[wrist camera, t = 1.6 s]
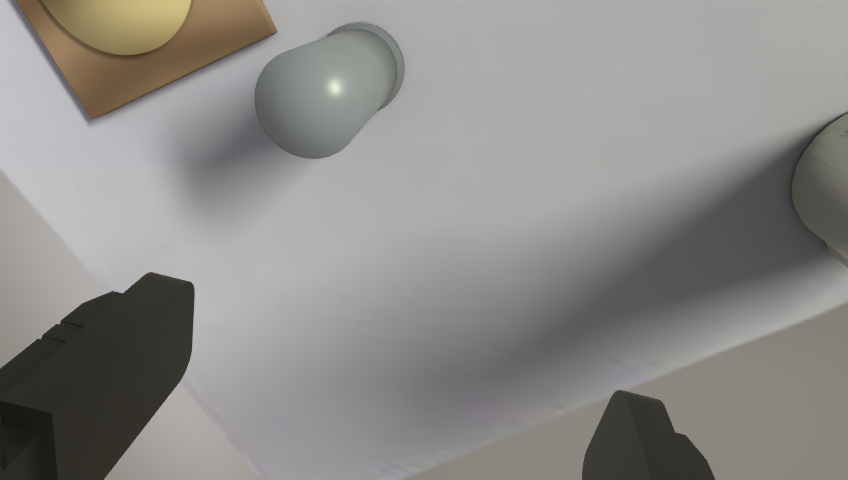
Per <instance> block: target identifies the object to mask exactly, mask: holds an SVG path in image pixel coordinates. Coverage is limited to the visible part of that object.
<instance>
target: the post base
mask: <svg viewBox="0 0 848 480" xmlns="http://www.w3.org/2000/svg"><path fill="white" fill-rule="evenodd" d="M16 1H17V2H18V4H19V6H20V7H21V9H22V10H23V12H24V13H25V15H26V17H27V18H28V20H29V21H30V23H31V24H32V26H33V27H34V29H35V31H36V32H37V34H38V35H39V37H40V38H41V40H42V42H43V43H44V45H45V46H46V48H47V49H48V51H49V53H50V54H51V56H52V57H53V59H54V60H55V62H56V64H57V65H58V67H59V68H60V70H61V71H62V73H63V75H64V76H65V78H66V79H67V81H68V82H69V84H70V85H71V87H72V89H73V90H74V92H75V93H76V95H77V96H78V98H79V100H80V101H81V103H82V104H83V106H84V107H85V109H86V111H87V112H88V114H89V115H90V117H91V118H92V119H93V118H96V117H99V116H102V115H104V114H106V113H108V112H111V111H113V110H115V109H117V108H119V107H121V106H123V105H125V104H127V103H129V102H131V101H134V100H136V99H138V98H140V97H142V96H144V95H146V94H148V93H150V92H152V91H154V90H157V89H159V88H161V87H163V86H165V85H167V84H169V83H171V82H173V81H175V80H178V79H180V78H182V77H184V76H186V75H188V74H190V73H192V72H194V71H196V70H198V69H201V68H203V67H205V66H207V65H209V64H211V63H213V62H215V61H217V60H219V59H221V58H224V57H226V56H228V55H230V54H232V53H234V52H236V51H238V50H240V49H242V48H244V47H247V46H249V45H251V44H253V43H255V42H257V41H259V40H261V39H263V38H265V37H267V36H270V35H272V34H274V33H276V32H277V30H276V28H275V26H274V24H273V22H272V20H271V18H270V15H269V13H268V11H267V9H266V7H265V5H264V3H263V1H262V0H16Z"/></svg>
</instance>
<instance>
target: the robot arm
mask: <svg viewBox="0 0 848 480" xmlns="http://www.w3.org/2000/svg"><path fill="white" fill-rule="evenodd" d="M792 199H793V204H794V208H795V210H796V212H797V214H798V216H799V218H800V220H801V221H802V222H803V223H804V224H805V225H806V226H807V227H808V229H809V230H811V231H812V232H813V233H815V234H816V235H817V236H818V237H820V238H821V239H822V240H824V241H825V242H826V244H827V250H828V252H829V253H830V254H832V255H833V256H834V257H835V258H837V259H838V260H839V261H840V262H842V263H843V264H844V265H845V266H847V267H848V113H847V114H845V115H844V116H842V117H840V118H839V119H837V120H836V121H834V122H833V123H831V124H830V125H828V126H827V127H826V128H825V129H824V130H823V131H822V132H821V133H819V134H818V135H817V136H816V137H815V138H814V140H813V141H812V142H811V143H810V145H809V146H808V147H807V148H806V150H805V151H804V153H803V155H802V157H801V158H800V160H799V162H798V164H797V166H796V170H795V173H794V177H793V180H792ZM193 315H194V286H193V284H192V283H191V282H189V281H185V280H181V279H177V278H173V277H169V276H165V275H161V274H157V273H153V272H150V273H147V274H145V275H144V276H143V277H142V278H140V279H139V280H138V281H137V282H136V283H135V284H133V285H132V286H131V287H130V288H129V289H128V290H126V291H125V292H124V293H123V294H122V293H118V292H114V291H112V292H109V293H107V294H104V295H102V296H99V297H97V298H94V299H92V300H89V301H87V302H85V303H82V304H81V305H80V306H79V307H77V308H76V309H75V310H74V311H73V312H71V313H70V314H69V315H67V316H66V317H65V318H64V319H62V320H61V323H60V324H59V325H58V324H56V325H55V326H53V327H52V328H51V329H50V330H48V331H47V332H46V333H45V334H43V336H42V338H41V340H40V339H37V340H36V341H35V342H33V343H32V344H31V345H30V346H28V347H27V348H26V349H25V350H23V351H22V352H21V353H19V354H18V355H17V356H16V357H15V358H13V359H12V360H11V361H9V362H8V363H7V364H6V365H4V366H3V367H2V368H1V369H0V480H104V479H105V477H106V476H107V475H108V473H109V472H110V471H111V469H112V468H113V467H114V466H115V464H116V463H117V462H118V460H119V459H120V458H121V457H122V455H123V454H124V453H125V451H126V450H127V449H128V448H129V446H130V445H131V444H132V442H133V441H134V440H135V439H136V437H137V436H138V435H139V433H140V432H141V431H142V429H143V428H144V427H145V426H146V424H147V423H148V422H149V421H150V419H151V418H152V417H153V415H154V414H155V412H156V411H157V410H158V409H159V407H160V406H161V405H162V404H163V402H164V401H165V400H166V399H167V397H168V396H169V395H170V394H171V392H172V391H173V390H174V388H175V387H176V386H177V385H178V383H179V382H180V380H181V379H182V377H183V375H184V373H185V371H186V369H187V366H188V363H189V360H190V356H191V351H192V336H193ZM582 480H715V478H714V476H713V474H712V471H711V469H710V467H709V465H708V463H707V460H706V459H705V458H704V456H703V455H702V454H701V453H700V452H699V451H698V450H697V448H696V447H695V446H694V445H693V443H692V442H691V441H690V440H689V439H688V438H687V436H686V435H683V434H678V433H675V431H674V429H673V426H672V423H671V421H670V418H669V416H668V414H667V411H666V408H665V406H664V404H663V403H662V401H660V400H658V399H654V398H650V397H646V396H642V395H638V394H634V393H630V392H626V391H622V390H618V391H616V392H615V393H614V394H613V396H612V397H611V399H610V401H609V403H608V405H607V408H606V410H605V412H604V414H603V416H602V418H601V421H600V423H599V425H598V427H597V429H596V431H595V433H594V436H593V438H592V440H591V442H590V444H589V446H588V448H587V451H586V454H585V458H584V463H583V471H582Z"/></svg>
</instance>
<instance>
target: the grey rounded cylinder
mask: <svg viewBox="0 0 848 480" xmlns="http://www.w3.org/2000/svg"><path fill="white" fill-rule="evenodd" d="M403 78H404V61H403V56H402V53H401V51H400V49H399V46H398V45H397V43H396V42H395V40H394V39H393V38H392V37H391V36H390V35H389V34H388V33H387V32H386V31H384V30H383V29H381V28H380V27H378V26H375V25H373V24H369V23H362V22H357V23H350V24H347V25H344V26H341V27H339V28H337V29H335V30H334V31H332V32H331V33H330V34H329V35H328V36H327V37H326V38H323V39H320V40H317V41H314V42H312V43H309V44H306V45H303V46H300V47H297V48H295V49H292V50H289V51H286V52H284V53H281V54H279V55H278V56H276V57H275V58H273V59H272V60H271V61H270V62H269V63H268V64H267V65H266V66H265V67H264V69H263V70H262V72H261V74H260V76H259V78H258V81H257V84H256V89H255V107H256V112H257V116H258V119H259V121H260V123H261V125H262V127H263V129H264V130H265V132H266V133H267V135H268V136H269V137H270V138H271V139H272V141H273V142H274V143H276V144H277V145H278V146H279V147H280V148H282V149H284V150H285V151H287V152H289V153H291V154H293V155H296V156H299V157H303V158H310V159H318V158H324V157H328V156H331V155H334V154H336V153H338V152H339V151H341V150H342V149H344V148H345V147H346V146H347V145H348V144H349V143H350V142H351V140H352V139H353V138H354V137H355V136H356V134H357V133H358V132H359V131H360V130H361V129H362V127H363V126H364V125H365V124H366V123H367V122H368V120H369V119H370V118H371V117H372V116H373V114H374V113H375V112H376V111H378V110H380V109H382V108H384V107H385V106H387V105H388V104H389V103H390V102H391V101H392V100H393V98H394V97H395V96H396V95H397V93H398V91H399V90H400V87H401V85H402V82H403Z"/></svg>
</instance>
